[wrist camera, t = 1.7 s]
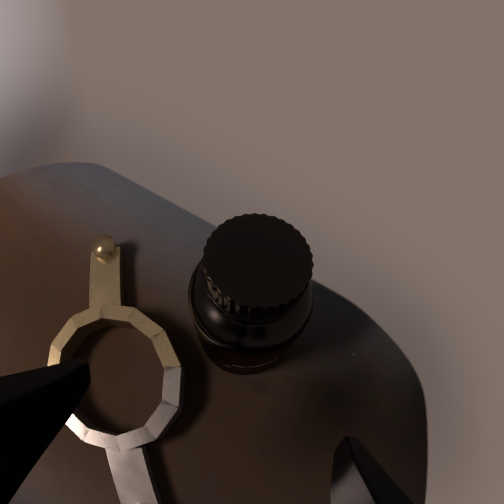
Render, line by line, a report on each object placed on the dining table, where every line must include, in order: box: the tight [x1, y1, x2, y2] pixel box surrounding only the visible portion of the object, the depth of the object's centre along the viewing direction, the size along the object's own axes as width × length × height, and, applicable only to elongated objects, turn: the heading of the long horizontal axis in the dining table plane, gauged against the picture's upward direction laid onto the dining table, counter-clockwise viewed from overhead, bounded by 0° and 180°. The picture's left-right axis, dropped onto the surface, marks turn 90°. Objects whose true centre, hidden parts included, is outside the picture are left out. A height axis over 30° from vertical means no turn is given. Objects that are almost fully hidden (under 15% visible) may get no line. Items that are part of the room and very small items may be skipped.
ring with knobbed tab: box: [48, 234, 185, 372], centre depth 21 cm, size 13×12×2 cm
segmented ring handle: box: [65, 366, 185, 504], centre depth 14 cm, size 17×12×2 cm
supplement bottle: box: [188, 213, 314, 375], centre depth 17 cm, size 7×7×12 cm
